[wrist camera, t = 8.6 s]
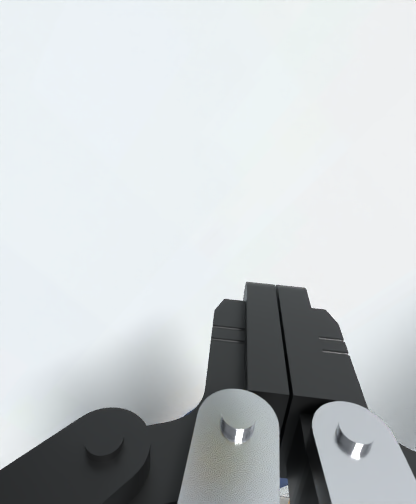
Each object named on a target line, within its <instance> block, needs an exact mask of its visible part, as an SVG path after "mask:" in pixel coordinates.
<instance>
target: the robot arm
mask: <svg viewBox="0 0 416 504" xmlns="http://www.w3.org/2000/svg"><path fill="white" fill-rule="evenodd" d="M343 340H344V339H343V336H342V333H341V330H340V327H339V325H338V323H337V322H336V321H335V320H334V319H333V318H332V316H331V315H330V314H329V313H328V312H327V311H326V310H324V309H315V308H311V305H310V302H309V298H308V294H307V290H306V288H302V287H292V286H283V285H276V286H275V285H272V284H263V283H253V282H246V285H245V291H244V298H243V301H239V300H230V299H224V300H223V301H222V302H221V303H220V305H219V306H218V307H217V308H216V309H215V311H214V319H213V328H212V336H211V344H210V353H209V361H208V370H207V378H206V386H205V392H204V396H203V398H202V400H201V402H200V403H199V405H198V406H197V407H196V408H195V409H194V410H193V411H191V412H190V413H189V414H187V415H186V416H184V417H182V418H179V419H177V420H174V421H170V422H165V423H160V424H154V425H149V426H146V424H145V423H144V421H143V420H142V419H141V418H140V417H139V416H137V415H136V414H135V413H133V412H131V411H128V410H125V409H121V408H103V409H99V410H95V411H93V412H90V413H88V414H86V415H84V416H82V417H81V418H79V419H78V420H76V421H75V422H73V423H71V424H70V425H68V426H67V427H65V428H64V429H62V430H61V431H59V432H58V433H56V434H55V435H53V436H52V437H50V438H49V439H47V440H45V441H44V442H42V443H41V444H39V445H38V446H36V447H35V448H33V449H32V450H30V451H29V452H27V453H26V454H24V455H23V456H21V457H19V458H18V459H16V460H15V461H13V462H12V463H10V464H9V465H7V466H6V467H4V468H3V469H1V470H0V504H280V478H286V479H288V488H289V502H288V504H416V452H415V451H412V450H410V449H408V448H406V447H404V446H403V445H401V444H399V443H398V442H397V439H396V437H395V436H394V434H393V432H392V431H391V429H390V428H389V427H388V425H387V424H386V423H385V422H384V421H383V420H382V419H381V418H380V417H378V416H377V415H376V414H374V413H373V412H371V411H370V410H368V407H367V404H366V402H365V399H364V396H363V393H362V390H361V387H360V384H359V382H358V379H357V376H356V373H355V370H354V367H353V364H352V362H351V359H350V356H348V350H347V347H346V345H345V342H343Z"/></svg>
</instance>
